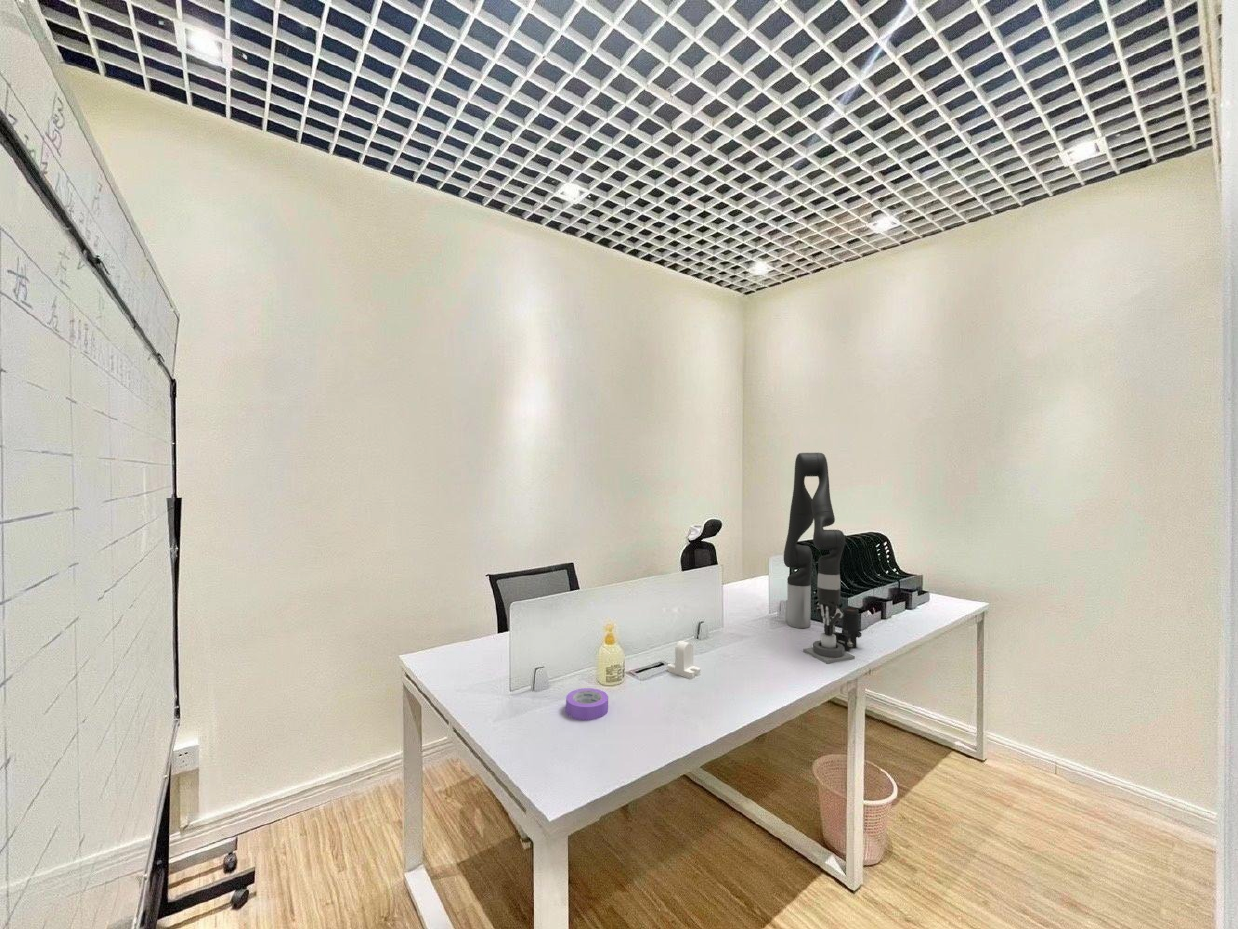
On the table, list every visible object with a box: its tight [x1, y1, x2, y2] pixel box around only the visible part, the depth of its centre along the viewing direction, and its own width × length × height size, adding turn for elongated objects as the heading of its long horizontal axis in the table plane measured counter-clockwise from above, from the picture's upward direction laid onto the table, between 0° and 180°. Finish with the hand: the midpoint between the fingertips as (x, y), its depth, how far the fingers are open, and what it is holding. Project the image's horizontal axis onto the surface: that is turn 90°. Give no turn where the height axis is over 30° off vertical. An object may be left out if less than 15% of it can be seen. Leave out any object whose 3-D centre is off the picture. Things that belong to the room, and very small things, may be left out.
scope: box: [833, 606, 862, 652], centre depth 193 cm, size 8×14×10 cm
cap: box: [820, 632, 836, 649], centre depth 185 cm, size 5×5×6 cm
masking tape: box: [565, 687, 609, 721], centre depth 145 cm, size 12×12×4 cm
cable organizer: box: [667, 640, 701, 680], centre depth 170 cm, size 5×10×10 cm, turn 47°
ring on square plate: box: [802, 640, 856, 665], centre depth 185 cm, size 12×12×4 cm
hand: (828, 634), depth 185 cm, fingers closed
